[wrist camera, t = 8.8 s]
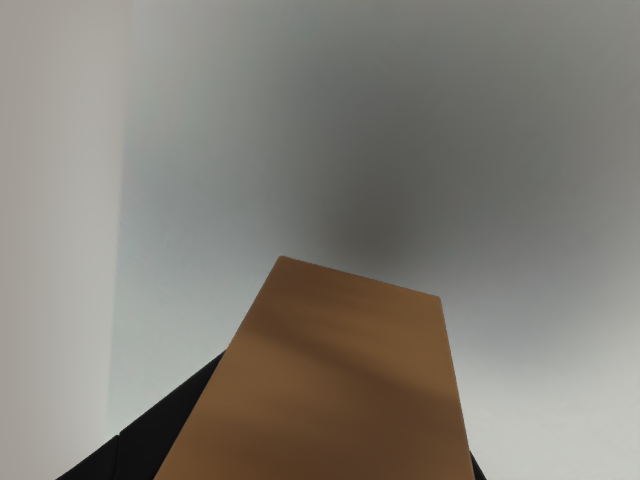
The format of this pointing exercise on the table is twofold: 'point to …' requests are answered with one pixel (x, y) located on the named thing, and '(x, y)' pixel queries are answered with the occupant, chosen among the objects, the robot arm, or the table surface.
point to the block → (329, 388)
